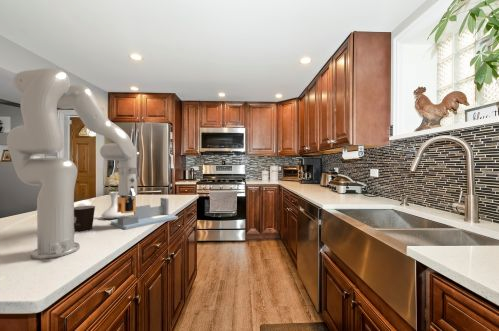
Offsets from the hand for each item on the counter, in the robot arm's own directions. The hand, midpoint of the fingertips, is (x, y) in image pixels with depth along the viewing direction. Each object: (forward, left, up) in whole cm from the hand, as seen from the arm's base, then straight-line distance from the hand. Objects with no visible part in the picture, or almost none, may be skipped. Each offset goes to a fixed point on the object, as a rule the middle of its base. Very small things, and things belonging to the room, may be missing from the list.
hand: (126, 209), depth 111 cm
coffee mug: (+10, +14, -8) cm, 19 cm away
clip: (0, 0, -1) cm, 1 cm away
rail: (+2, -11, -8) cm, 14 cm away
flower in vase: (+22, -4, -8) cm, 24 cm away
